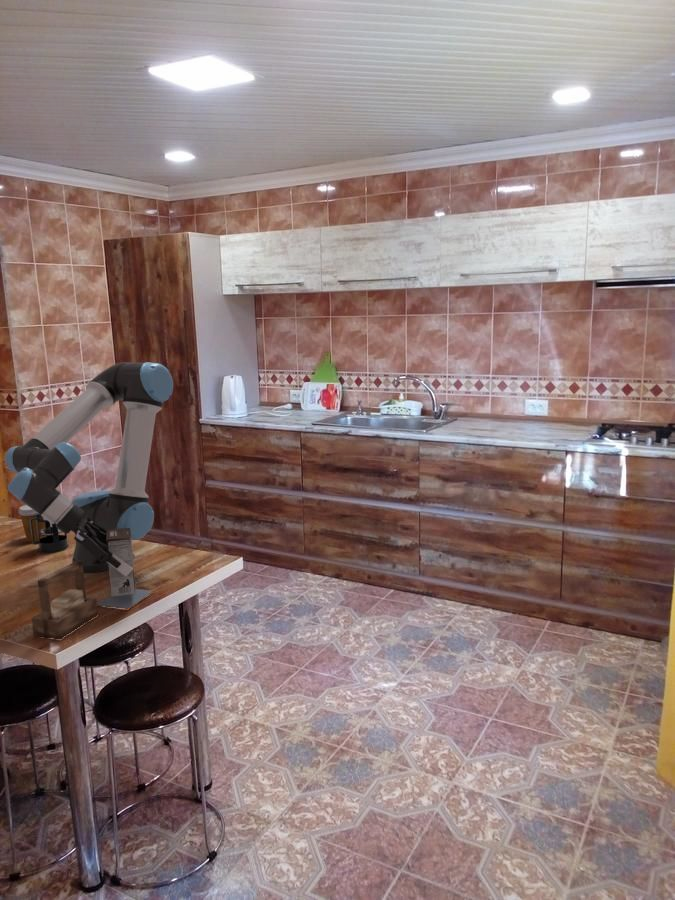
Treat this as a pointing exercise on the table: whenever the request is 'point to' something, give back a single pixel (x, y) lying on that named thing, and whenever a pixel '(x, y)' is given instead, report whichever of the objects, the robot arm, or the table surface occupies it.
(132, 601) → the slate mat
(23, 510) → the disposable coffee cup
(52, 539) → the french press
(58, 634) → the offcut rack
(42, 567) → the table surface
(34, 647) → the table surface
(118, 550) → the coffee box
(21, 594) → the table surface
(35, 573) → the table surface
